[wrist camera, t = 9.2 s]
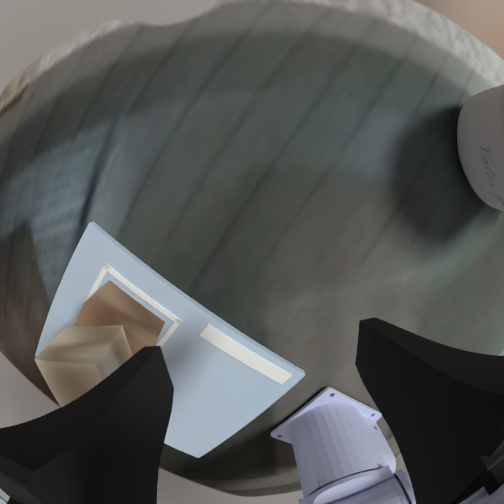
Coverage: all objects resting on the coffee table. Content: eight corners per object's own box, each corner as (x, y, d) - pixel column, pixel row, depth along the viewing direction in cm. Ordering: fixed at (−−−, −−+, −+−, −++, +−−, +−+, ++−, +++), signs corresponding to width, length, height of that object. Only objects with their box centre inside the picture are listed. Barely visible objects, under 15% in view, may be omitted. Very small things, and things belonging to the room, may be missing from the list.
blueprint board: (303, 370, 21) (305, 375, 20) (199, 454, 24) (198, 458, 23) (93, 221, 17) (88, 222, 16) (37, 353, 20) (34, 356, 19)
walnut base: (165, 321, 19) (151, 353, 15) (135, 362, 19) (120, 393, 16) (109, 280, 18) (84, 302, 14) (85, 325, 18) (62, 351, 15)
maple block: (122, 325, 14) (95, 364, 10) (143, 383, 15) (127, 426, 11) (66, 326, 14) (34, 359, 10) (89, 380, 15) (67, 416, 11)
